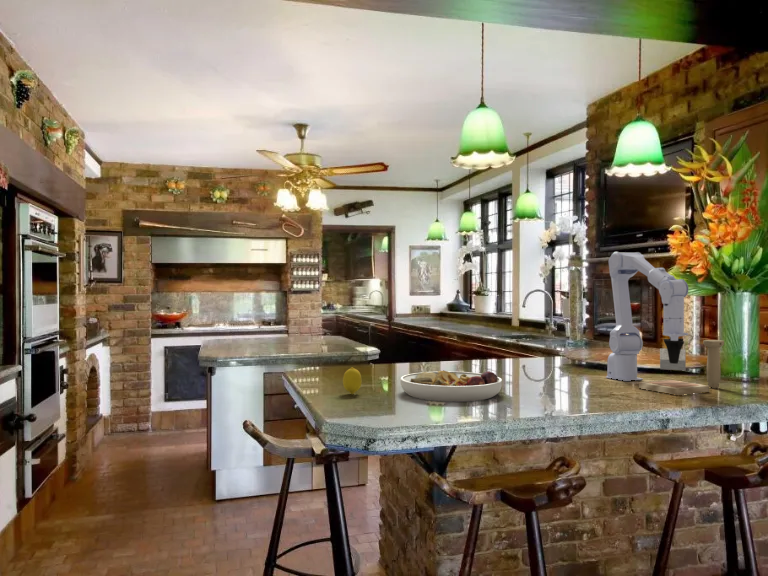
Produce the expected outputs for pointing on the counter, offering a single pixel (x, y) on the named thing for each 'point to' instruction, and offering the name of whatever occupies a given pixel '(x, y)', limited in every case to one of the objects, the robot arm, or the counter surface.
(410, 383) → the bowl
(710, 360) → the handle
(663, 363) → the block
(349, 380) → the lemon
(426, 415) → the counter surface
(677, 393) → the stand
